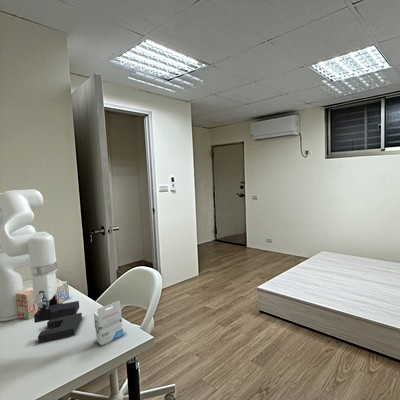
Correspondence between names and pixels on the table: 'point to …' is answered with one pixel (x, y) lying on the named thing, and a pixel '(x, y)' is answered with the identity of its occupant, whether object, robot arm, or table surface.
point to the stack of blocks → (30, 308)
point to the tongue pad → (60, 310)
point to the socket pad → (61, 327)
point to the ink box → (108, 323)
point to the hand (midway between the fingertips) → (49, 314)
